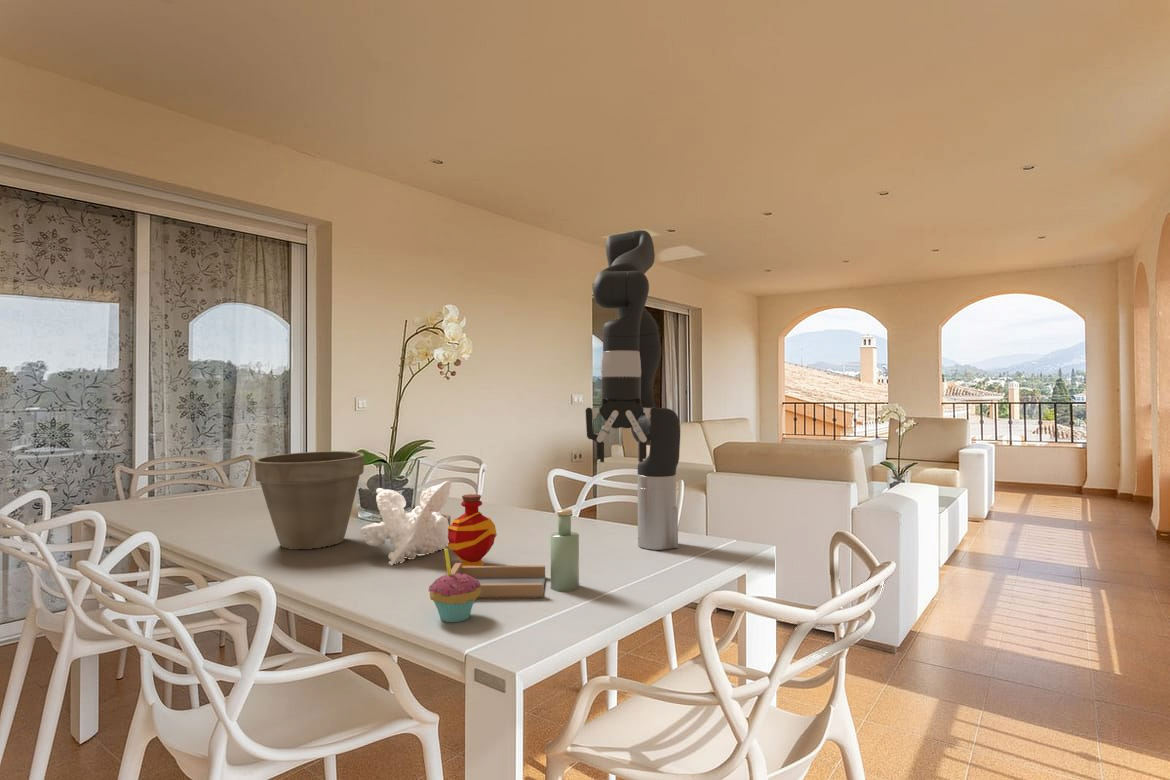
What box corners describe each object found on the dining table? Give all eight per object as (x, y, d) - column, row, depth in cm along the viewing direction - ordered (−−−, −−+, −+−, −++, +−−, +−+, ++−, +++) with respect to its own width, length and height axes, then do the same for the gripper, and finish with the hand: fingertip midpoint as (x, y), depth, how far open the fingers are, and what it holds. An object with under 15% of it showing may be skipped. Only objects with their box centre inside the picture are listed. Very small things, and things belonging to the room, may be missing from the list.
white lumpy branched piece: (468, 504, 163) (444, 470, 146) (459, 584, 152) (432, 558, 136) (395, 507, 165) (364, 474, 148) (382, 586, 154) (346, 560, 138)
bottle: (578, 582, 127) (578, 507, 127) (579, 591, 122) (578, 513, 122) (551, 582, 127) (550, 508, 127) (550, 591, 121) (550, 513, 121)
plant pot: (257, 561, 144) (256, 463, 144) (252, 539, 165) (252, 454, 165) (373, 547, 156) (373, 457, 156) (354, 528, 178) (354, 449, 178)
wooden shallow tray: (545, 577, 131) (545, 562, 131) (542, 598, 118) (542, 581, 118) (455, 578, 130) (455, 563, 130) (442, 599, 117) (442, 582, 117)
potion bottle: (474, 574, 133) (473, 501, 133) (437, 567, 138) (437, 497, 138) (506, 563, 141) (506, 494, 141) (470, 556, 147) (470, 490, 147)
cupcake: (418, 622, 105) (418, 548, 105) (447, 606, 113) (447, 537, 113) (464, 629, 102) (464, 553, 102) (491, 612, 110) (490, 541, 110)
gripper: (656, 375, 128) (656, 459, 128) (583, 375, 128) (583, 459, 128) (661, 374, 121) (661, 463, 121) (584, 374, 121) (584, 464, 121)
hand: (621, 461), depth 125 cm, fingers open, 7 cm apart
